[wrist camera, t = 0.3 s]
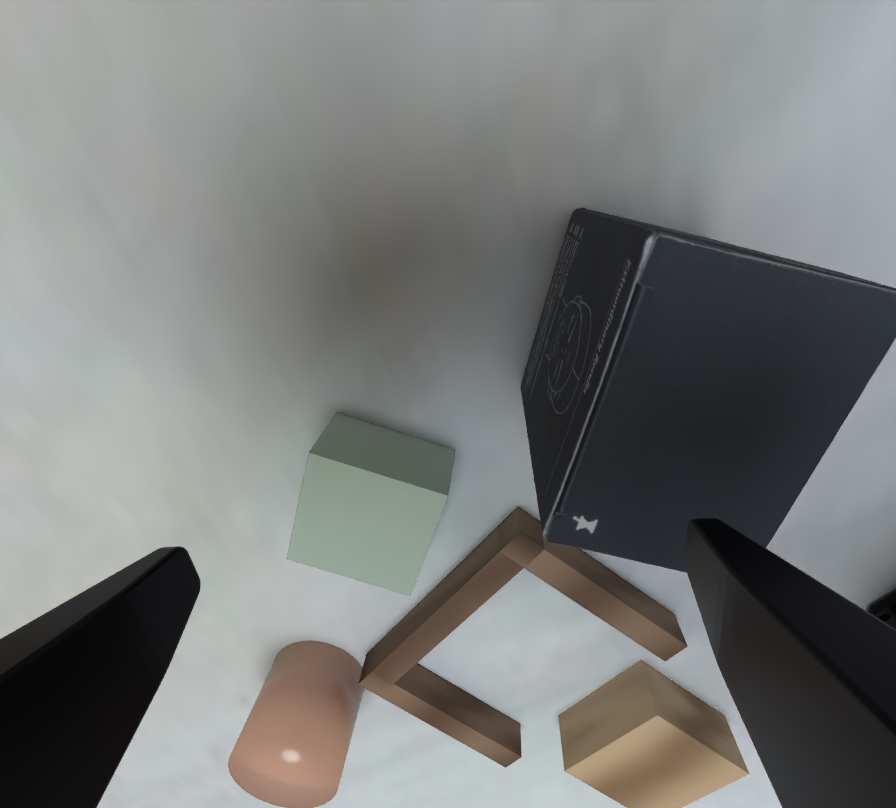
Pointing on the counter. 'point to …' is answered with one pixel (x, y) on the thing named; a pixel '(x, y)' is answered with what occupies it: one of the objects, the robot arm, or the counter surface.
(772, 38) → the counter surface
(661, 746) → the oak block
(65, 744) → the robot arm
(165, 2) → the counter surface
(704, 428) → the box
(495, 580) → the walnut bay
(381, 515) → the matte sage squarish block
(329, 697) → the tan round cylinder
